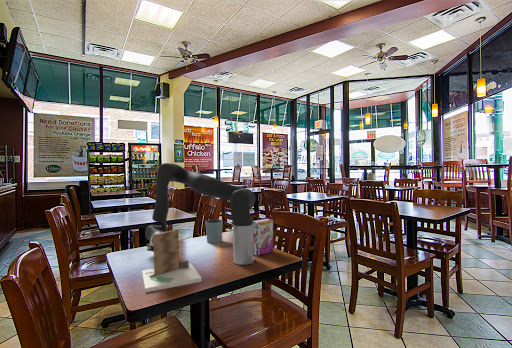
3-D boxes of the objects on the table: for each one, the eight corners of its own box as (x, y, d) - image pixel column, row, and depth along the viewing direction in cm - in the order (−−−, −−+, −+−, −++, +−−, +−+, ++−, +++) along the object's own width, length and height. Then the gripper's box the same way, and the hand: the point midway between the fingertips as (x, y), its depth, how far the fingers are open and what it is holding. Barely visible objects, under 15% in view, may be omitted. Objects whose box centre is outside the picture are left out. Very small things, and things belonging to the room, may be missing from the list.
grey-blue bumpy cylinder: (209, 244, 156) (208, 223, 156) (203, 240, 165) (202, 220, 165) (225, 242, 161) (225, 221, 161) (219, 238, 170) (219, 218, 169)
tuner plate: (190, 266, 124) (190, 262, 124) (201, 281, 107) (201, 277, 107) (141, 274, 115) (141, 270, 115) (145, 292, 98) (145, 288, 98)
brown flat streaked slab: (184, 263, 121) (183, 226, 121) (190, 266, 119) (190, 228, 118) (147, 276, 108) (146, 234, 108) (153, 279, 105) (152, 236, 105)
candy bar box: (257, 256, 135) (256, 222, 135) (250, 254, 139) (250, 221, 138) (274, 251, 143) (273, 219, 142) (267, 249, 146) (266, 218, 146)
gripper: (144, 234, 125) (147, 244, 110) (174, 230, 131) (181, 240, 115) (144, 250, 126) (147, 263, 110) (175, 246, 131) (182, 258, 115)
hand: (165, 251), depth 113 cm, fingers closed
